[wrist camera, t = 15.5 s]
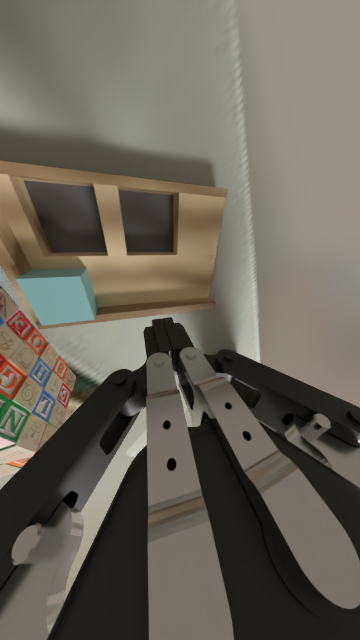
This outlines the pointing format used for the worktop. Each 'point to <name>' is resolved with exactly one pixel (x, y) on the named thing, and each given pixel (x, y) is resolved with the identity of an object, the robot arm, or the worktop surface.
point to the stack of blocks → (28, 388)
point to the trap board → (112, 237)
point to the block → (59, 295)
